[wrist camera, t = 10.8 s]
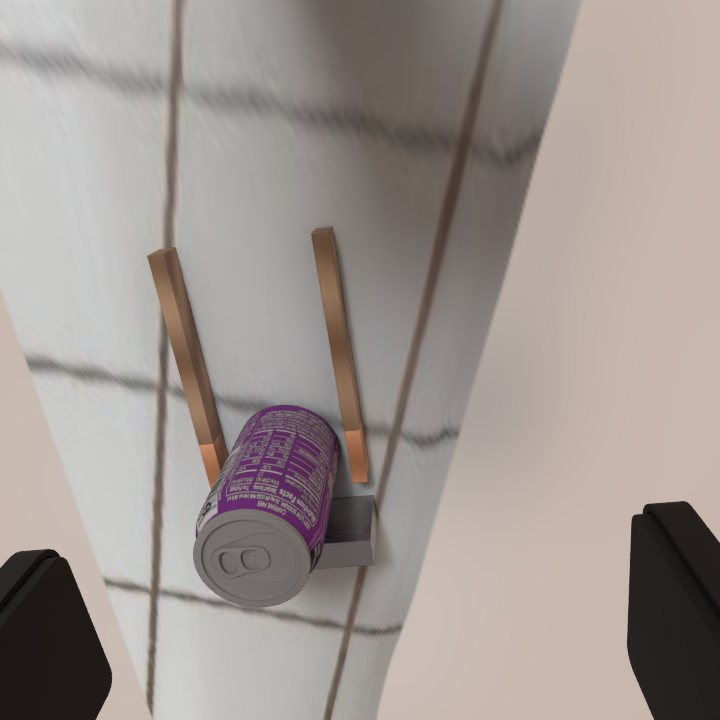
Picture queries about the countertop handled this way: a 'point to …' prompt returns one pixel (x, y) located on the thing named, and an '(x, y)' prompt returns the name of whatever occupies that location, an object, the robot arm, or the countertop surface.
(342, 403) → the guide channel
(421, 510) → the countertop surface
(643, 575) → the robot arm
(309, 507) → the beverage can
